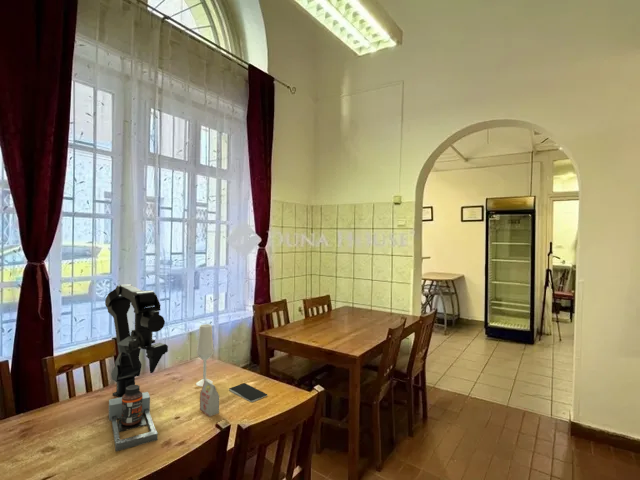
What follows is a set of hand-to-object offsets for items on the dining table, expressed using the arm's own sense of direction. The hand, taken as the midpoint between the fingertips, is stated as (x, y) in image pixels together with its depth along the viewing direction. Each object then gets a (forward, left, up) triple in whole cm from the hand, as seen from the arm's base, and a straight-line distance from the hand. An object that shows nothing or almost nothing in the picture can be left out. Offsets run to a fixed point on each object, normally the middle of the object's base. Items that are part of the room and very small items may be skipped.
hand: (142, 370), depth 125 cm
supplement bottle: (+7, -9, -13) cm, 17 cm away
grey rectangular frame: (+10, -11, -13) cm, 20 cm away
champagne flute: (+4, +26, -13) cm, 29 cm away
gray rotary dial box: (0, -5, -13) cm, 14 cm away
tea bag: (+23, +9, -13) cm, 28 cm away
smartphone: (+26, +27, -14) cm, 40 cm away
